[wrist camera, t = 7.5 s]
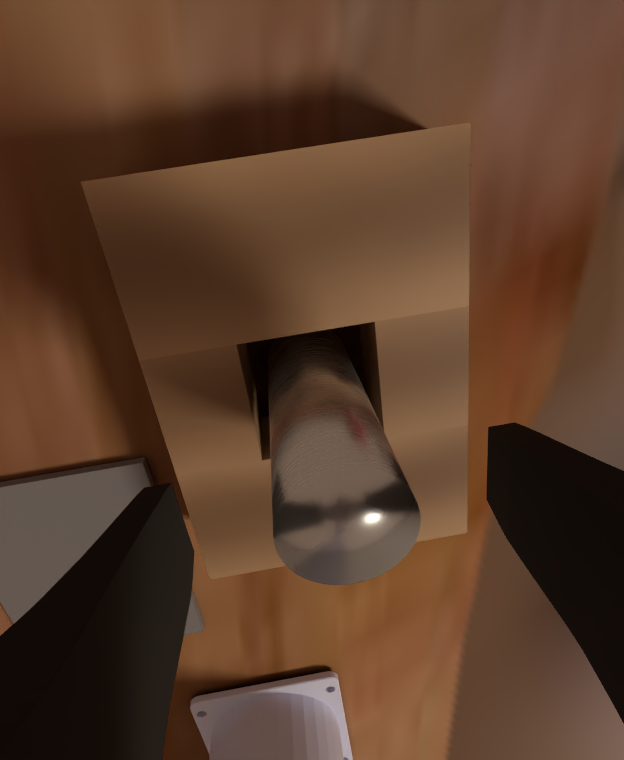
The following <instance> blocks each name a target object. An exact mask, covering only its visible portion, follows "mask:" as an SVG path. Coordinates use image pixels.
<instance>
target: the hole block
mask: <svg viewBox="0 0 624 760" xmlns="http://www.w3.org/2000/svg"><path fill="white" fill-rule="evenodd" d="M470 128H471V122H469V123H463V124H456V125H450V126H443V127H437V128H430V129H424V130H417V131H410V132H404V133H397V134H391V135H384V136H378V137H371V138H365V139H358V140H351V141H345V142H338V143H332V144H325V145H319V146H312V147H305V148H299V149H292V150H286V151H279V152H273V153H266V154H260V155H253V156H246V157H240V158H233V159H227V160H220V161H214V162H207V163H200V164H194V165H187V166H181V167H174V168H168V169H161V170H155V171H148V172H141V173H135V174H128V175H122V176H115V177H109V178H102V179H96V180H89V181H82V182H81V185H82V188H83V191H84V194H85V197H86V200H87V203H88V206H89V209H90V213H91V216H92V219H93V222H94V225H95V228H96V231H97V234H98V237H99V240H100V243H101V246H102V249H103V252H104V255H105V259H106V262H107V265H108V268H109V271H110V274H111V277H112V280H113V283H114V286H115V289H116V292H117V295H118V298H119V301H120V305H121V308H122V311H123V314H124V317H125V320H126V323H127V326H128V329H129V332H130V335H131V338H132V341H133V344H134V347H135V350H136V354H137V357H138V360H139V363H140V366H141V369H142V372H143V375H144V378H145V381H146V384H147V387H148V390H149V393H150V396H151V400H152V403H153V406H154V409H155V412H156V415H157V418H158V421H159V424H160V427H161V430H162V433H163V436H164V439H165V442H166V446H167V449H168V452H169V455H170V458H171V461H172V464H173V467H174V470H175V473H176V476H177V479H178V482H179V485H180V488H181V492H182V495H183V498H184V501H185V504H186V507H187V510H188V513H189V516H190V519H191V522H192V525H193V528H194V531H195V534H196V538H197V541H198V544H199V547H200V550H201V553H202V556H203V559H204V562H205V565H206V568H207V571H208V574H209V577H210V579H216V578H221V577H227V576H232V575H238V574H243V573H249V572H254V571H260V570H265V569H271V568H276V567H282V566H286V565H285V564H284V562H283V561H282V560H281V558H280V557H279V555H278V553H277V551H276V548H275V545H274V539H273V516H272V486H271V456H270V425H269V416H264V417H262V415H261V410H260V405H259V401H258V396H257V391H256V387H255V382H254V377H253V373H252V368H251V363H250V358H249V354H248V349H247V344H246V343H249V342H255V341H261V340H267V339H273V338H279V337H285V336H291V335H297V334H303V333H309V332H315V331H321V330H327V329H333V328H339V327H345V326H351V325H357V324H359V330H360V340H361V350H362V360H363V370H364V380H365V390H366V394H367V396H368V398H369V401H370V403H371V405H372V407H373V409H374V411H375V413H376V416H377V418H378V420H379V422H380V424H381V426H382V428H383V431H384V433H385V435H386V437H387V439H388V441H389V443H390V446H391V448H392V450H393V452H394V454H395V456H396V458H397V461H398V463H399V465H400V467H401V469H402V471H403V473H404V475H405V478H406V480H407V482H408V484H409V486H410V488H411V490H412V493H413V495H414V497H415V499H416V501H417V503H418V507H419V510H420V516H421V522H420V530H419V534H418V536H417V539H416V541H415V542H419V541H425V540H430V539H435V538H441V537H446V536H452V535H457V534H463V533H467V484H468V366H469V247H470Z"/></svg>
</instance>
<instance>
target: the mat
mask: <svg viewBox="0 0 624 760" xmlns="http://www.w3.org/2000/svg"><path fill="white" fill-rule="evenodd" d="M151 486H155V484H154V481H153V478H152V476H151V473H150V470H149V467H148V464H147V461H146V459H145V457H142V458H136V459H130V460H125V461H119V462H113V463H107V464H101V465H96V466H90V467H84V468H78V469H72V470H67V471H61V472H55V473H49V474H43V475H38V476H32V477H26V478H20V479H14V480H9V481H3V482H0V603H1V604H2V606H3V608H4V609H5V611H6V612H7V614H8V616H9V617H10V619H11V620H12V622H13V624H14V623H15V622H17V621H18V620H19V619H20V618H21V617H22V616H23V615H24V614H25V613H26V612H27V611H28V610H29V609H30V608H32V607H33V606H34V605H35V604H36V603H37V602H38V601H39V600H40V599H41V598H42V597H43V596H44V595H45V594H46V593H47V592H48V591H49V590H50V589H51V588H52V587H53V586H54V585H55V584H56V583H57V582H58V581H59V579H60V578H61V577H62V576H63V575H64V574H65V573H66V572H67V571H68V570H69V569H70V568H71V567H72V566H73V565H74V564H75V563H76V562H77V561H78V560H79V559H80V558H81V557H82V556H83V555H84V554H85V553H86V551H87V550H88V549H89V548H90V547H91V546H92V545H93V544H94V543H95V541H96V540H97V539H98V538H99V537H100V536H101V535H102V534H103V533H104V531H105V530H106V529H107V528H108V527H109V526H110V525H111V524H112V522H113V521H114V520H115V519H116V518H117V517H118V516H119V515H120V513H121V512H122V511H123V510H124V509H125V508H126V507H127V505H128V504H129V503H130V502H131V501H132V500H133V499H134V498H135V497H136V495H137V494H138V493H139V492H140V491H141V490H142V489H143V488H145V487H151ZM203 630H204V622H203V619H202V617H201V614H200V611H199V608H198V605H197V602H196V600H195V597H194V594H193V591H192V592H191V600H190V605H189V611H188V616H187V621H186V626H185V631H184V635H187V634H192V633H198V632H203Z"/></svg>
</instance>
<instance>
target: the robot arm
mask: <svg viewBox="0 0 624 760" xmlns="http://www.w3.org/2000/svg"><path fill="white" fill-rule="evenodd" d="M487 501H488V503H489V505H490V507H491V509H492V511H493V513H494V515H495V517H496V519H497V521H498V523H499V525H500V527H501V529H502V530H503V532H504V534H505V536H506V538H507V539H508V541H509V542H510V544H511V545H512V547H513V548H514V550H515V551H516V553H517V554H518V556H519V557H520V559H521V560H522V562H523V563H524V565H525V566H526V567H527V569H528V570H529V572H530V573H531V575H532V576H533V577H534V579H535V580H536V582H537V583H538V585H539V586H540V588H541V589H542V591H543V592H544V593H545V595H546V596H547V598H548V599H549V601H550V602H551V603H552V605H553V606H554V608H555V609H556V611H557V612H558V613H559V615H560V616H561V618H562V619H563V621H564V622H565V624H566V625H567V626H568V628H569V629H570V631H571V633H572V634H573V636H574V637H575V639H576V640H577V642H578V644H579V645H580V647H581V648H582V650H583V651H584V653H585V655H586V657H587V658H588V660H589V662H590V664H591V665H592V667H593V669H594V671H595V672H596V674H597V676H598V678H599V680H600V681H601V683H602V685H603V687H604V689H605V690H606V692H607V694H608V696H609V697H610V699H611V701H612V703H613V705H614V706H615V708H616V710H617V712H618V714H619V716H620V718H621V719H622V721H623V723H624V471H622V470H620V469H618V468H615V467H613V466H611V465H608V464H606V463H604V462H602V461H599V460H597V459H595V458H593V457H591V456H588V455H586V454H584V453H582V452H580V451H578V450H575V449H573V448H571V447H569V446H567V445H565V444H562V443H560V442H558V441H556V440H554V439H552V438H550V437H547V436H545V435H543V434H541V433H539V432H536V431H534V430H532V429H530V428H527V427H525V426H523V425H520V424H517V423H509V424H504V425H498V426H492V427H488V464H487ZM193 564H194V550H193V547H192V544H191V541H190V538H189V535H188V532H187V529H186V526H185V523H184V520H183V516H182V513H181V510H180V507H179V504H178V501H177V498H176V495H175V492H174V489H173V486H172V483H168V484H162V485H156V486H151V487H145V488H143V489H142V490H141V491H140V492H139V493H138V494H137V495H136V497H135V498H134V499H133V500H132V501H131V502H130V503H129V504H128V505H127V507H126V508H125V509H124V510H123V511H122V512H121V513H120V515H119V516H118V517H117V518H116V519H115V520H114V521H113V522H112V524H111V525H110V526H109V527H108V528H107V529H106V530H105V531H104V533H103V534H102V535H101V536H100V537H99V538H98V539H97V540H96V541H95V543H94V544H93V545H92V546H91V547H90V548H89V549H88V550H87V551H86V553H85V554H84V555H83V556H82V557H81V558H80V559H79V560H78V561H77V562H76V563H75V564H74V565H73V566H72V567H71V568H70V569H69V570H68V571H67V572H66V573H65V574H64V575H63V576H62V577H61V578H60V579H59V581H58V582H57V583H56V584H55V585H54V586H53V587H52V588H51V589H50V590H49V591H48V592H47V593H46V594H45V595H44V596H43V597H42V598H41V599H40V600H39V601H38V602H37V603H36V604H35V605H34V606H33V607H32V608H30V609H29V610H28V611H27V612H26V613H25V614H24V615H23V616H22V617H21V618H20V619H19V620H18V621H17V622H15V623H14V624H13V625H12V626H11V627H10V628H9V629H8V630H6V631H5V632H4V633H3V634H2V635H1V636H0V760H163V750H164V741H165V732H166V726H167V719H168V713H169V707H170V701H171V696H172V691H173V686H174V681H175V676H176V671H177V666H178V661H179V656H180V651H181V646H182V641H183V636H184V631H185V626H186V621H187V616H188V611H189V605H190V600H191V592H192V580H193ZM190 710H191V713H192V715H193V717H194V720H195V722H196V724H197V727H198V729H199V731H200V734H201V736H202V739H203V741H204V743H205V746H206V748H207V750H208V753H209V760H353V758H352V752H351V747H350V741H349V736H348V730H347V725H346V719H345V714H344V708H343V703H342V698H341V692H340V687H339V681H338V676H337V674H336V673H335V672H332V671H326V672H321V673H316V674H310V675H305V676H300V677H295V678H289V679H284V680H279V681H274V682H268V683H263V684H258V685H252V686H247V687H242V688H237V689H231V690H226V691H221V692H216V693H210V694H205V695H200V696H196V697H194V698H193V699H192V700H191V703H190Z"/></svg>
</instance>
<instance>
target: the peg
mask: <svg viewBox="0 0 624 760" xmlns="http://www.w3.org/2000/svg"><path fill="white" fill-rule="evenodd" d="M267 364H268V395H269V425H270V456H271V486H272V516H273V539H274V545H275V548H276V551H277V553H278V555H279V557H280V558H281V560H282V561H283V562H284V564H285V565H286V566H287V567H288V568H289V569H290V570H292V571H293V572H295V573H296V574H298V575H299V576H301V577H303V578H305V579H308V580H310V581H314V582H317V583H322V584H328V585H347V584H354V583H359V582H363V581H366V580H369V579H372V578H375V577H377V576H379V575H381V574H383V573H385V572H387V571H388V570H390V569H391V568H393V567H394V566H396V565H397V564H398V563H399V562H400V561H401V560H402V559H403V558H404V557H405V556H406V555H407V554H408V553H409V551H410V550H411V548H412V547H413V545H414V543H415V541H416V539H417V536H418V534H419V530H420V522H421V516H420V510H419V507H418V503H417V501H416V499H415V497H414V495H413V493H412V490H411V488H410V486H409V484H408V482H407V480H406V478H405V475H404V473H403V471H402V469H401V467H400V465H399V463H398V461H397V458H396V456H395V454H394V452H393V450H392V448H391V446H390V443H389V441H388V439H387V437H386V435H385V433H384V431H383V428H382V426H381V424H380V422H379V420H378V418H377V416H376V413H375V411H374V409H373V407H372V405H371V403H370V401H369V398H368V396H367V394H366V392H365V390H364V388H363V386H362V384H361V381H360V379H359V377H358V375H357V373H356V371H355V369H354V366H353V364H352V362H351V360H350V358H349V356H348V354H347V351H346V349H345V347H344V345H343V343H342V341H341V340H340V338H339V337H338V336H337V335H336V334H335V333H334V332H333V331H331V330H330V329H327V330H321V331H315V332H309V333H303V334H297V335H291V336H285V337H279V338H276V339H275V340H274V342H273V343H272V345H271V347H270V350H269V353H268V361H267Z"/></svg>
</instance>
